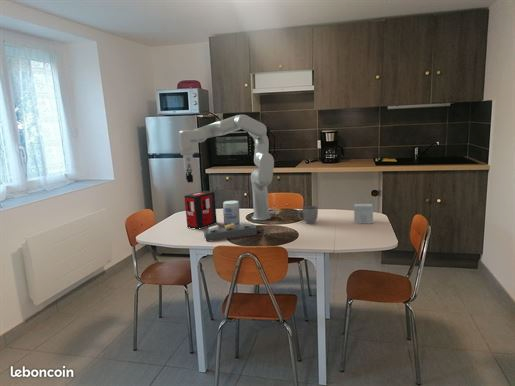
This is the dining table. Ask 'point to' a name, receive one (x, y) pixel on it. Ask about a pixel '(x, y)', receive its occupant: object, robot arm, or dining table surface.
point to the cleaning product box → (200, 209)
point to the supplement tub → (231, 212)
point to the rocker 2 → (245, 224)
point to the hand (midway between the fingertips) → (189, 181)
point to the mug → (309, 214)
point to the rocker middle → (229, 225)
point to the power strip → (231, 232)
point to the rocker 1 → (213, 228)
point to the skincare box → (363, 213)
